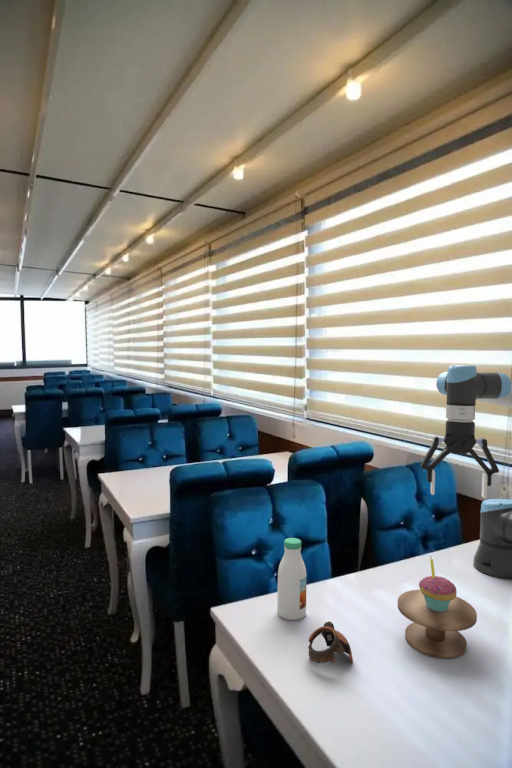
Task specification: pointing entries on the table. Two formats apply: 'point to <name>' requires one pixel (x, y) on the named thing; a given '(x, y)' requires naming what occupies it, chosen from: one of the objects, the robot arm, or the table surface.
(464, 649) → the cake stand
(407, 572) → the table surface
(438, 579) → the cupcake
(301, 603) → the milk bottle
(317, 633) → the broken pottery fragment
